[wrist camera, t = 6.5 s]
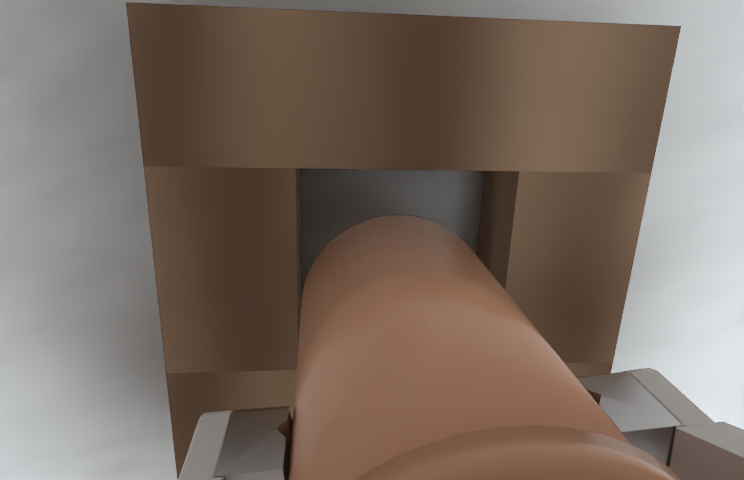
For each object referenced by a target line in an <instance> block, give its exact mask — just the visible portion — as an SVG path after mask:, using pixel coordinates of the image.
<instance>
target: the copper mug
mask: <svg viewBox="0 0 744 480" xmlns="http://www.w3.org/2000/svg"><path fill="white" fill-rule="evenodd" d="M288 480H682V479H681V478H680V477H679V476H678V475H677V474H676V473H675V472H674V471H673V470H672V469H671V468H669V467H668V466H666V465H665V464H664V463H662V462H661V461H659V460H658V459H657V458H655V457H654V456H652V455H651V454H649V453H647V452H645V451H643V450H641V449H639V448H637V447H635V446H633V445H631V444H630V443H629V442H628V441H627V439H626V438H625V437H624V436H623V434H622V433H621V432H620V431H619V430H618V428H617V427H616V426H615V425H614V423H613V422H612V421H611V420H610V419H609V417H608V416H607V415H606V414H605V412H604V411H603V410H602V409H601V407H600V406H599V405H598V404H597V403H596V401H595V400H594V399H593V398H592V396H591V395H590V394H589V393H588V392H587V390H586V389H585V388H584V387H583V385H582V384H581V383H580V382H579V381H578V379H577V378H576V377H575V376H574V374H573V373H572V372H571V371H570V369H569V368H568V367H567V366H566V365H565V363H564V362H563V361H562V360H561V358H560V357H559V356H558V355H557V354H556V352H555V351H554V350H553V349H552V347H551V346H550V345H549V344H548V343H547V341H546V340H545V339H544V338H543V336H542V335H541V334H540V333H539V331H538V330H537V329H536V328H535V327H534V325H533V324H532V323H531V322H530V320H529V319H528V318H527V317H526V316H525V314H524V313H523V312H522V311H521V309H520V308H519V307H518V306H517V305H516V303H515V302H514V301H513V300H512V298H511V297H510V296H509V295H508V293H507V292H506V291H505V290H504V289H503V287H502V286H501V285H500V284H499V282H498V281H497V280H496V279H495V278H494V276H493V275H492V274H491V273H490V271H489V270H488V269H487V268H486V267H485V265H484V264H483V263H482V262H481V260H480V259H479V258H478V257H477V255H476V254H475V253H474V252H473V251H472V249H471V248H470V247H469V246H468V245H467V244H466V242H465V241H464V240H463V239H462V238H461V237H460V236H458V235H457V234H456V233H454V232H453V231H452V230H450V229H449V228H447V227H445V226H443V225H441V224H439V223H437V222H434V221H432V220H429V219H426V218H422V217H417V216H410V215H388V216H381V217H376V218H373V219H369V220H366V221H363V222H361V223H358V224H356V225H354V226H352V227H350V228H348V229H347V230H345V231H343V232H342V233H341V234H339V235H338V236H337V237H335V238H334V239H333V240H332V241H331V242H330V243H329V244H328V245H326V246H325V247H324V249H323V250H322V251H321V252H320V254H319V255H318V256H317V257H316V259H315V261H314V262H313V264H312V266H311V268H310V270H309V272H308V275H307V277H306V280H305V283H304V287H303V292H302V302H301V315H300V328H299V342H298V355H297V369H296V382H295V395H294V409H293V423H292V437H291V449H290V462H289V477H288Z"/></svg>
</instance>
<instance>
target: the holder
mask: <svg viewBox="0 0 744 480" xmlns="http://www.w3.org/2000/svg"><path fill="white" fill-rule="evenodd" d="M126 7H127V16H128V25H129V35H130V44H131V53H132V62H133V72H134V81H135V90H136V99H137V109H138V118H139V127H140V136H141V146H142V155H143V164H144V173H145V183H146V192H147V201H148V210H149V219H150V229H151V238H152V247H153V256H154V266H155V275H156V284H157V293H158V303H159V312H160V321H161V330H162V340H163V349H164V358H165V367H166V377H167V386H168V395H169V404H170V414H171V423H172V432H173V441H174V450H175V460H176V469H177V478H178V479H179V476H180V473H181V470H182V467H183V464H184V462H185V459H186V456H187V453H188V450H189V447H190V444H191V441H192V438H193V435H194V432H195V429H196V426H197V424H198V421H199V418H200V417H201V416H202V415H203V414H204V413H208V412H218V411H228V410H231V411H233V410H240V409H253V408H265V407H278V406H290V408H291V412H292V419H293V409H294V395H295V382H296V369H297V355H298V342H299V328H300V315H301V234H300V168H307V169H384V170H461V171H485V179H484V189H483V199H482V208H481V218H480V228H479V238H478V248H477V257H478V258H479V259H480V260H481V262H482V263H483V264H484V265H485V267H486V268H487V269H488V270H489V271H490V273H491V274H492V275H493V276H494V278H495V279H496V280H497V281H498V282H499V284H500V285H501V286H502V287H503V289H504V290H505V291H506V292H507V293H508V295H509V296H510V297H511V298H512V300H513V301H514V302H515V303H516V305H517V306H518V307H519V308H520V309H521V311H522V312H523V313H524V314H525V316H526V317H527V318H528V319H529V320H530V322H531V323H532V324H533V325H534V327H535V328H536V329H537V330H538V331H539V333H540V334H541V335H542V336H543V338H544V339H545V340H546V341H547V343H548V344H549V345H550V346H551V347H552V349H553V350H554V351H555V352H556V354H557V355H558V356H559V357H560V358H561V360H562V361H563V362H564V363H565V365H566V366H567V367H568V368H569V369H570V371H571V372H572V373H573V374H574V376H575V377H584V376H593V375H602V374H610V373H611V368H612V363H613V358H614V354H615V349H616V344H617V339H618V334H619V329H620V324H621V319H622V314H623V309H624V304H625V299H626V294H627V289H628V284H629V280H630V275H631V270H632V265H633V260H634V255H635V250H636V245H637V240H638V235H639V230H640V225H641V220H642V215H643V210H644V206H645V201H646V196H647V191H648V186H649V181H650V176H651V171H652V166H653V161H654V156H655V151H656V146H657V141H658V136H659V132H660V127H661V122H662V117H663V112H664V107H665V102H666V97H667V92H668V87H669V82H670V77H671V72H672V67H673V62H674V58H675V53H676V48H677V43H678V38H679V33H680V28H681V26H663V25H639V24H616V23H593V22H569V21H546V20H523V19H500V18H476V17H453V16H430V15H406V14H383V13H360V12H337V11H313V10H290V9H267V8H243V7H220V6H197V5H174V4H150V3H127V2H126Z"/></svg>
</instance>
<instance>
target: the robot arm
mask: <svg viewBox="0 0 744 480" xmlns="http://www.w3.org/2000/svg"><path fill="white" fill-rule="evenodd" d="M576 378H577V379H578V381H579V382H580V383H581V384H582V385H583V387H584V388H585V389H586V390H587V392H588V393H589V394H590V395H591V396H592V398H593V399H594V400H595V401H596V403H597V404H598V405H599V406H600V407H601V409H602V410H603V411H604V412H605V414H606V415H607V416H608V417H609V419H610V420H611V421H612V422H613V423H614V425H615V426H616V427H617V428H618V430H619V431H620V432H621V433H622V434H623V436H624V437H625V438H626V439H627V441H628V442H629V443H630V444H631V445H633V446H635V447H637V448H639V449H641V450H643V451H645V452H647V453H649V454H651V455H652V456H654V457H655V458H657V459H658V460H659V461H661V462H662V463H664V464H665V465H666V466H668V467H669V468H671V469H672V470H673V471H674V472H675V473H676V474H677V475H678V476H679V477H680V478H681V479H682V480H744V430H742V429H740V428H737V427H735V426H733V425H730V424H728V423H725V422H718V423H715V422H713V421H712V420H711V419H710V418H709V417H708V416H707V415H706V414H705V413H703V412H702V411H701V410H700V409H699V408H698V407H697V406H696V405H695V404H693V403H692V402H691V401H690V400H689V399H688V398H687V397H686V396H685V395H684V394H682V393H681V392H680V391H679V390H678V389H677V388H676V387H675V386H674V385H672V384H671V383H670V382H669V381H668V380H667V379H666V378H665V377H664V376H662V375H661V374H660V373H659V372H658V371H656V370H654V369H651V368H645V369H637V370H630V371H623V372H620V373H611V374H602V375H593V376H584V377H576ZM292 423H293V419H292V412H291V408H290V406H278V407H265V408H253V409H240V410H233V411H231V410H228V411H218V412H208V413H204V414H203V415H202V416H201V417H200V418H199V421H198V424H197V426H196V429H195V432H194V435H193V438H192V441H191V444H190V447H189V450H188V453H187V456H186V459H185V462H184V464H183V467H182V470H181V473H180V476H179V479H178V480H288V477H289V462H290V449H291V437H292Z"/></svg>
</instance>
